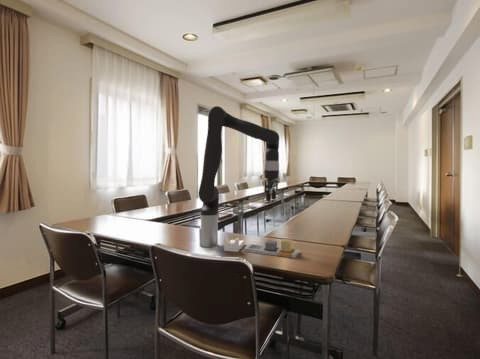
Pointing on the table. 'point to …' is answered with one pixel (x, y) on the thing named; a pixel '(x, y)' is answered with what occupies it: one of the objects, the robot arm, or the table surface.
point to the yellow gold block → (287, 246)
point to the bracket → (233, 244)
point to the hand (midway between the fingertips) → (271, 200)
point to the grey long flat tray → (261, 249)
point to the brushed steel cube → (271, 245)
